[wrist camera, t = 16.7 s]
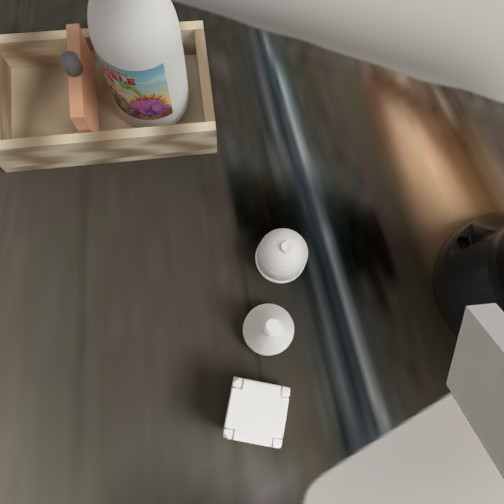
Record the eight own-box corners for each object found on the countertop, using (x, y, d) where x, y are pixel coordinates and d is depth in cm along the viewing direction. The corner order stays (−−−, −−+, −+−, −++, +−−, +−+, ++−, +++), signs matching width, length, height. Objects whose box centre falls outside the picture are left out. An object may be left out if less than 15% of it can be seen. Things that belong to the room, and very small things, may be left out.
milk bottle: (146, 57, 52) (99, -127, 32) (203, 93, 51) (191, -73, 32) (103, 109, 50) (26, -54, 31) (162, 147, 49) (122, 5, 30)
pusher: (97, 62, 51) (75, 11, 44) (102, 146, 49) (80, 107, 41) (82, 63, 51) (58, 12, 43) (86, 147, 49) (61, 108, 41)
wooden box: (204, 51, 54) (201, 6, 47) (217, 152, 51) (215, 119, 44) (5, 66, 52) (-28, 21, 45) (6, 172, 49) (-29, 141, 42)
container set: (275, 439, 44) (282, 449, 39) (221, 429, 44) (221, 437, 39) (308, 240, 49) (318, 224, 44) (259, 230, 49) (264, 213, 44)
